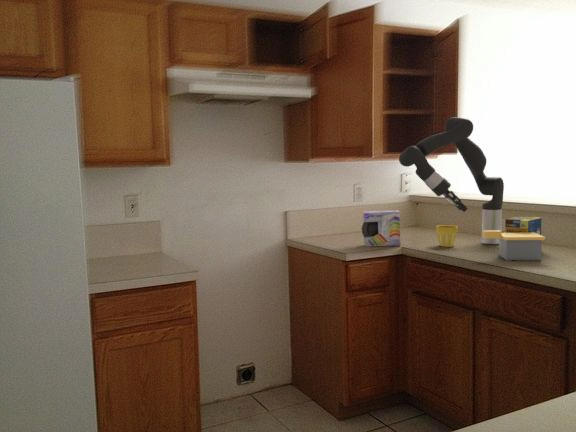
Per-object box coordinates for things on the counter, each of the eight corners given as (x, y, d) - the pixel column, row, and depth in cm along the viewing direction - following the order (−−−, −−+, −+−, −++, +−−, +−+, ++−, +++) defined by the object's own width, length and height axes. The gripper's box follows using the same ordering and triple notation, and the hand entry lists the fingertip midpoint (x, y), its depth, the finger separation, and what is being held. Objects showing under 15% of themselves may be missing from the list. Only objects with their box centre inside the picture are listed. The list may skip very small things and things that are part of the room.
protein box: (504, 253, 250) (504, 219, 248) (518, 248, 261) (519, 215, 259) (527, 255, 243) (528, 220, 241) (541, 250, 253) (542, 217, 252)
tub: (498, 255, 243) (499, 235, 242) (532, 255, 242) (532, 235, 241) (506, 261, 232) (506, 239, 231) (541, 260, 230) (541, 239, 229)
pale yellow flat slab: (479, 235, 244) (480, 228, 244) (534, 235, 242) (534, 228, 241) (487, 240, 231) (487, 233, 230) (545, 239, 228) (545, 232, 227)
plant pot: (457, 244, 277) (457, 225, 276) (458, 247, 267) (458, 227, 266) (436, 243, 280) (436, 224, 279) (435, 247, 270) (435, 227, 269)
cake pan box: (362, 246, 278) (361, 211, 276) (362, 244, 283) (361, 210, 281) (400, 246, 275) (400, 211, 273) (400, 244, 280) (400, 210, 278)
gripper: (446, 177, 230) (473, 204, 230) (440, 176, 244) (467, 202, 244) (432, 190, 231) (460, 217, 231) (428, 188, 245) (454, 214, 245)
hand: (463, 209), depth 237 cm, fingers open, 8 cm apart
